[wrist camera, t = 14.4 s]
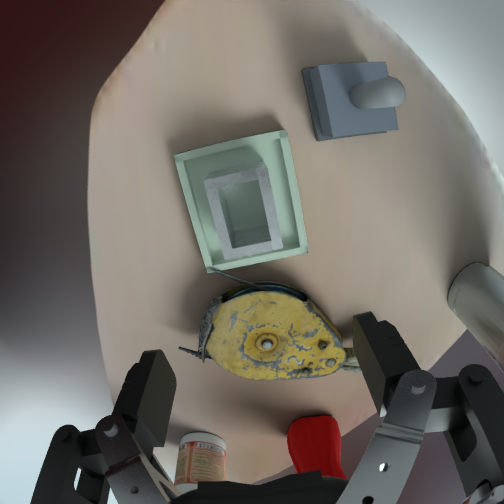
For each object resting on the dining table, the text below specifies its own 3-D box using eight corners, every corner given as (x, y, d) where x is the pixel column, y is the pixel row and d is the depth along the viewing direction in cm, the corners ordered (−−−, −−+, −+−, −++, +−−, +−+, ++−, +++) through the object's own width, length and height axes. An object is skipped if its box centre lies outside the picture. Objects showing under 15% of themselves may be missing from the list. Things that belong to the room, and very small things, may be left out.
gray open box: (263, 160, 31) (267, 166, 26) (278, 230, 34) (283, 248, 29) (209, 172, 31) (203, 180, 26) (227, 241, 34) (224, 260, 29)
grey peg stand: (369, 65, 27) (422, 44, 16) (382, 131, 30) (440, 139, 19) (301, 70, 27) (330, 43, 17) (316, 140, 30) (352, 148, 20)
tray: (284, 129, 30) (286, 129, 28) (305, 246, 35) (308, 252, 34) (177, 154, 31) (173, 155, 29) (209, 266, 36) (207, 273, 34)
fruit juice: (219, 429, 50) (213, 563, 24) (231, 451, 53) (230, 567, 28) (173, 431, 50) (155, 557, 24) (189, 453, 54) (179, 564, 28)
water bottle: (280, 415, 48) (295, 542, 25) (339, 410, 48) (370, 528, 26) (275, 439, 52) (286, 550, 29) (328, 436, 52) (351, 540, 29)
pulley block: (367, 412, 40) (172, 368, 34) (355, 388, 45) (178, 342, 40) (420, 340, 36) (210, 269, 31) (401, 320, 41) (213, 251, 36)
